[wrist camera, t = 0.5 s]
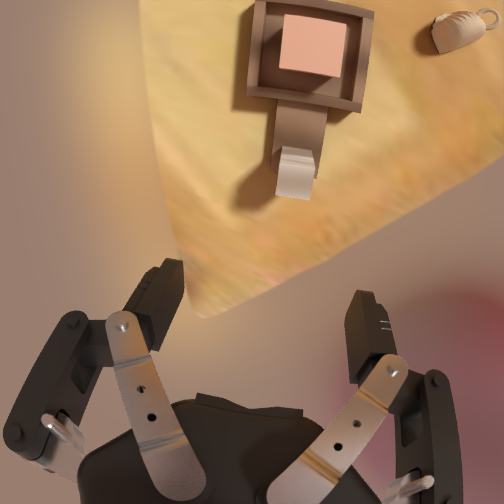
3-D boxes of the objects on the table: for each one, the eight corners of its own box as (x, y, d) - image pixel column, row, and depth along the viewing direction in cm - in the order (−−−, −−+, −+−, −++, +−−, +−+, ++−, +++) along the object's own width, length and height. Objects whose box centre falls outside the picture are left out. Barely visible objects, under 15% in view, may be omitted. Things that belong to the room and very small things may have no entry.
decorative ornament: (420, 21, 19) (441, 15, 14) (470, 8, 15) (494, 3, 11) (438, 54, 20) (461, 53, 16) (485, 38, 17) (511, 38, 13)
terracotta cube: (286, 24, 21) (284, 14, 17) (337, 32, 21) (346, 24, 17) (281, 69, 24) (279, 67, 20) (332, 77, 24) (339, 77, 20)
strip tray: (258, -2, 20) (248, -23, 15) (368, 15, 20) (388, 0, 14) (243, 164, 31) (230, 188, 25) (342, 179, 31) (352, 207, 25)
